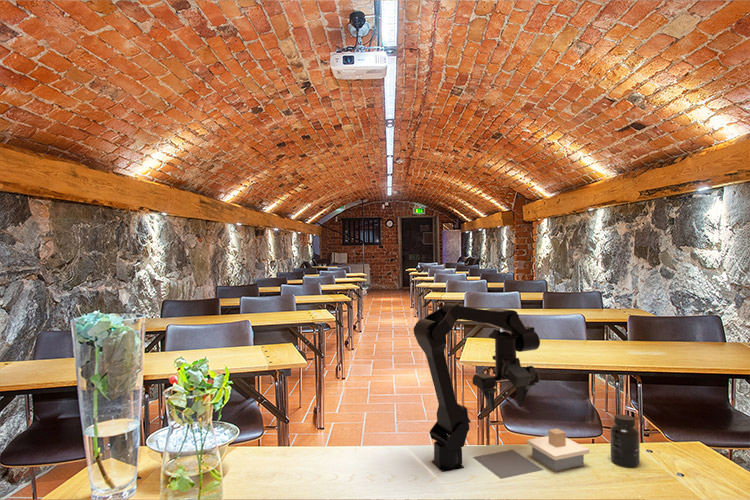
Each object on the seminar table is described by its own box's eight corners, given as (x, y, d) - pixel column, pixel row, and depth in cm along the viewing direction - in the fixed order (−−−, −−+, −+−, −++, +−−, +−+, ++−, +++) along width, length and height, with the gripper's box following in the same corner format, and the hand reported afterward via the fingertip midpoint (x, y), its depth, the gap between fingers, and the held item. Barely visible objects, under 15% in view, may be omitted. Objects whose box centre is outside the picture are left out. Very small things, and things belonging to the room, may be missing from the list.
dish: (555, 473, 117) (555, 457, 117) (532, 459, 126) (532, 444, 126) (583, 467, 120) (583, 452, 120) (559, 453, 129) (558, 439, 129)
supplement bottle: (644, 469, 119) (643, 422, 119) (615, 467, 120) (614, 421, 120) (634, 457, 126) (633, 413, 126) (607, 455, 127) (606, 412, 127)
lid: (554, 460, 116) (554, 442, 116) (526, 443, 126) (526, 426, 126) (589, 453, 120) (589, 435, 120) (559, 437, 130) (558, 421, 130)
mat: (500, 480, 114) (500, 478, 114) (472, 458, 126) (472, 456, 126) (543, 471, 118) (543, 469, 118) (512, 451, 131) (512, 449, 131)
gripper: (494, 362, 120) (494, 423, 120) (552, 356, 126) (553, 413, 126) (471, 354, 131) (471, 409, 130) (526, 348, 137) (526, 401, 137)
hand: (506, 408), depth 131 cm, fingers open, 9 cm apart
